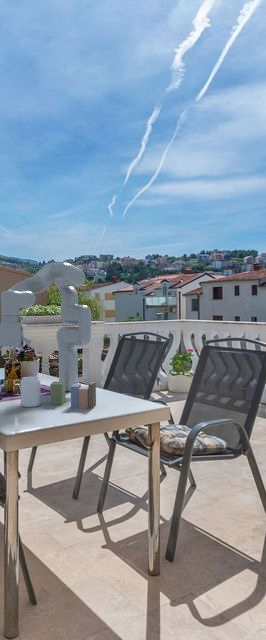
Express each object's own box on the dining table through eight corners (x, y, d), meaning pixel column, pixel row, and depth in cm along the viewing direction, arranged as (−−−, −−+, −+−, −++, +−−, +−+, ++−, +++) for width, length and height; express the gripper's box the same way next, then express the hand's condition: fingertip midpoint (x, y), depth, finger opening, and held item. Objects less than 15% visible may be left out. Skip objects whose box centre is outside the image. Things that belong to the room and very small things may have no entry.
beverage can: (36, 408, 211) (35, 379, 210) (17, 407, 212) (17, 378, 212) (43, 404, 219) (43, 376, 218) (25, 403, 220) (25, 376, 220)
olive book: (54, 401, 223) (54, 381, 223) (65, 402, 223) (65, 381, 223) (50, 405, 217) (50, 384, 217) (62, 405, 216) (61, 384, 216)
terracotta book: (81, 405, 217) (81, 386, 216) (90, 405, 216) (90, 386, 216) (78, 408, 210) (78, 389, 210) (87, 408, 210) (87, 389, 210)
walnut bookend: (91, 404, 217) (91, 381, 216) (96, 404, 216) (95, 381, 216) (88, 408, 210) (88, 384, 209) (93, 408, 210) (93, 384, 209)
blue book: (74, 404, 217) (73, 384, 217) (80, 404, 217) (80, 384, 216) (70, 408, 211) (70, 386, 210) (77, 408, 210) (77, 386, 210)
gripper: (32, 319, 217) (33, 359, 218) (-7, 319, 218) (-7, 359, 219) (28, 320, 210) (28, 361, 210) (-13, 320, 211) (-13, 360, 211)
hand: (10, 360), depth 215 cm, fingers open, 9 cm apart
